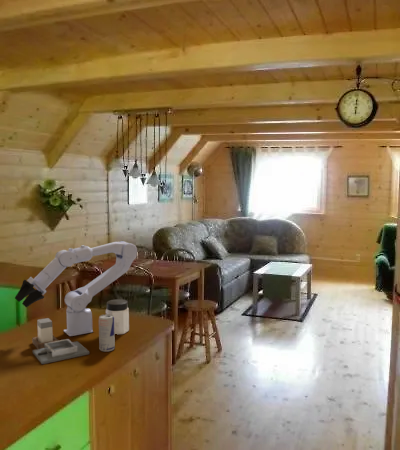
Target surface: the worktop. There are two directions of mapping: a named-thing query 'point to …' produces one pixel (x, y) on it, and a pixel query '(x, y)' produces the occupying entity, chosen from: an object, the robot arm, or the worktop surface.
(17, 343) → the worktop surface
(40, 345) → the brown square tray
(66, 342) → the socket board
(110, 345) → the energy drink
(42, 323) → the plug
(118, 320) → the jar
